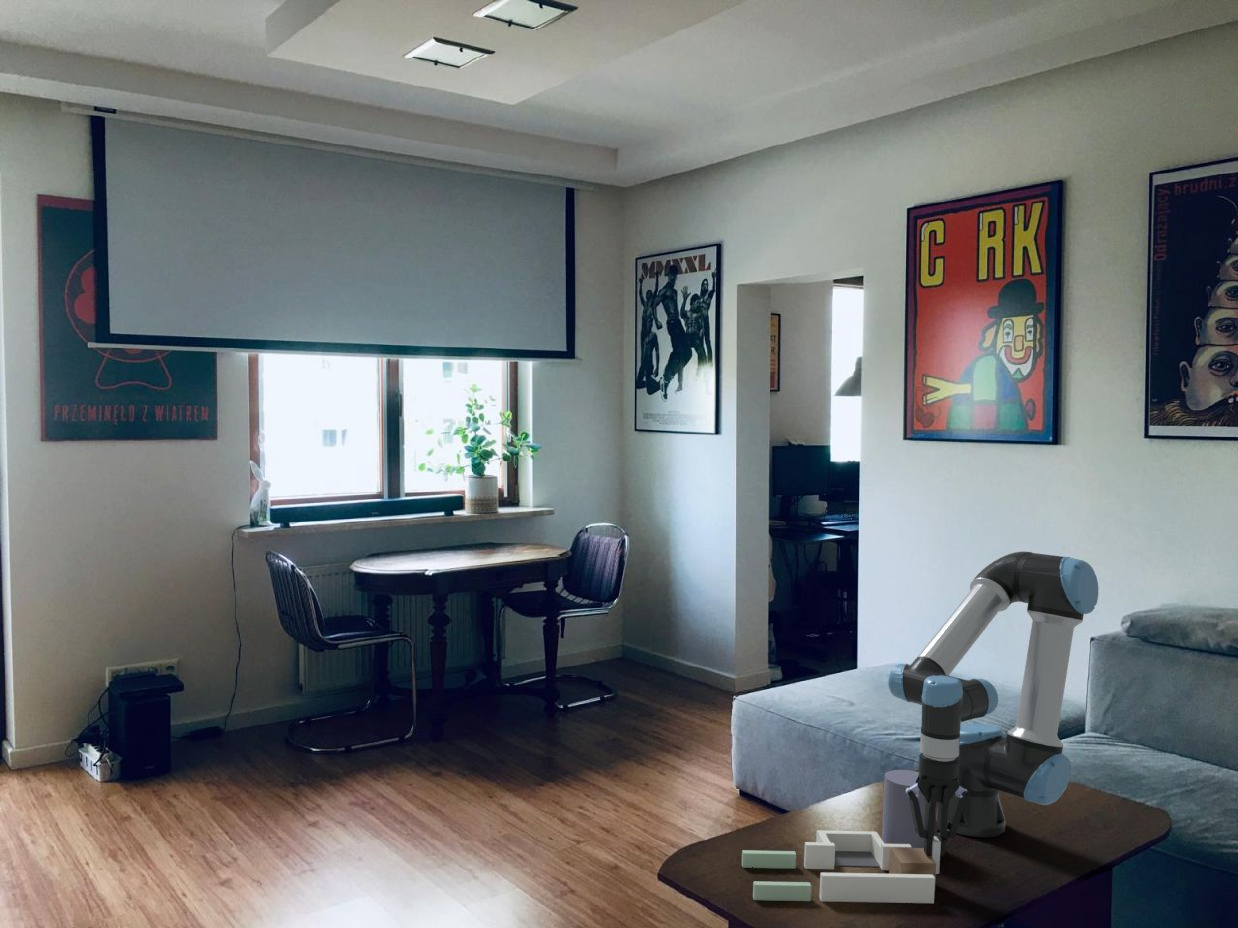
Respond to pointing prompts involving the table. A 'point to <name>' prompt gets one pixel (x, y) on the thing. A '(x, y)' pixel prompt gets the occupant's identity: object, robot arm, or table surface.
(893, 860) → the block
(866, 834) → the white walled enclosure
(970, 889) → the table surface
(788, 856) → the rails
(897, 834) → the lavender cylinder
